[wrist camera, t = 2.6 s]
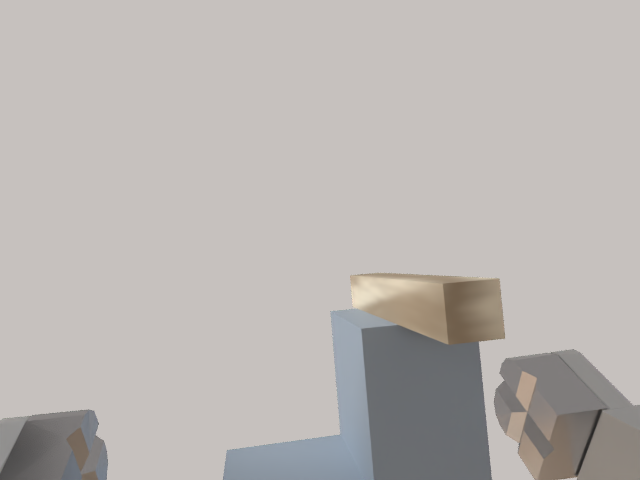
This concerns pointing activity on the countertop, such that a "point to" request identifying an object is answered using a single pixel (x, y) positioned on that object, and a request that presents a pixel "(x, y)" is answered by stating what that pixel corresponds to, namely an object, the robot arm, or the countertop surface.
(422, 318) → the block
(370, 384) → the stepped stand
